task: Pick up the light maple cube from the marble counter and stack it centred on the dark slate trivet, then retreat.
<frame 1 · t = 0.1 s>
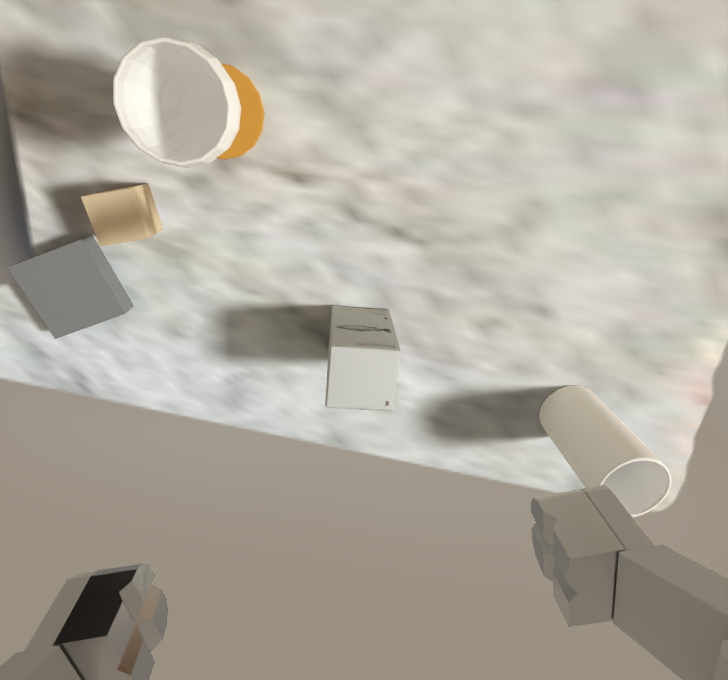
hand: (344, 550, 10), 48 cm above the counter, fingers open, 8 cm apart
cup: (567, 410, 67), on the counter
slate trivet: (80, 283, 56), on the counter
maple cube: (133, 210, 53), on the counter
cup 2: (220, 112, 49), on the counter
supplement box: (357, 332, 60), on the counter
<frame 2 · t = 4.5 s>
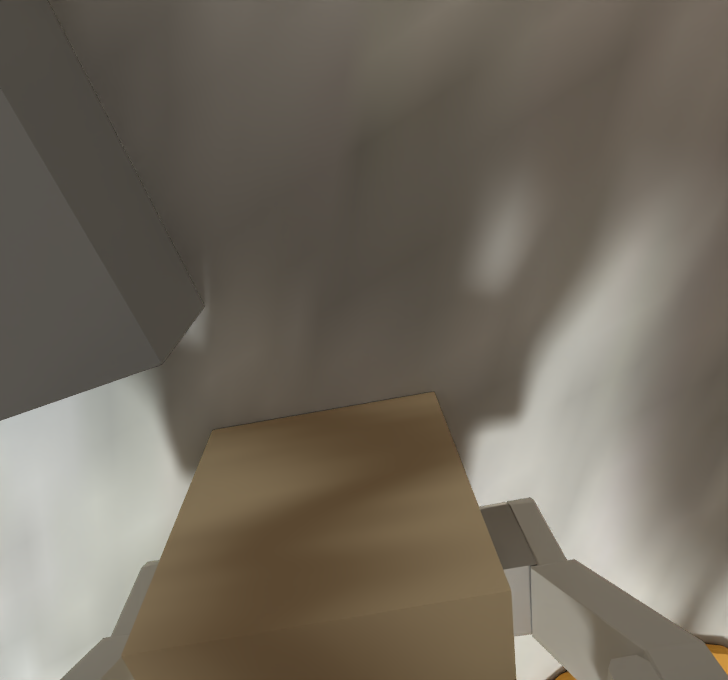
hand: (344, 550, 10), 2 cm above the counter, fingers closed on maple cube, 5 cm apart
maple cube: (343, 497, 12), on the counter, touching gripper
when the fingers open (6 cm above the counter, at t = 9.7 s): maple cube drops 1 cm, resting on slate trivet.
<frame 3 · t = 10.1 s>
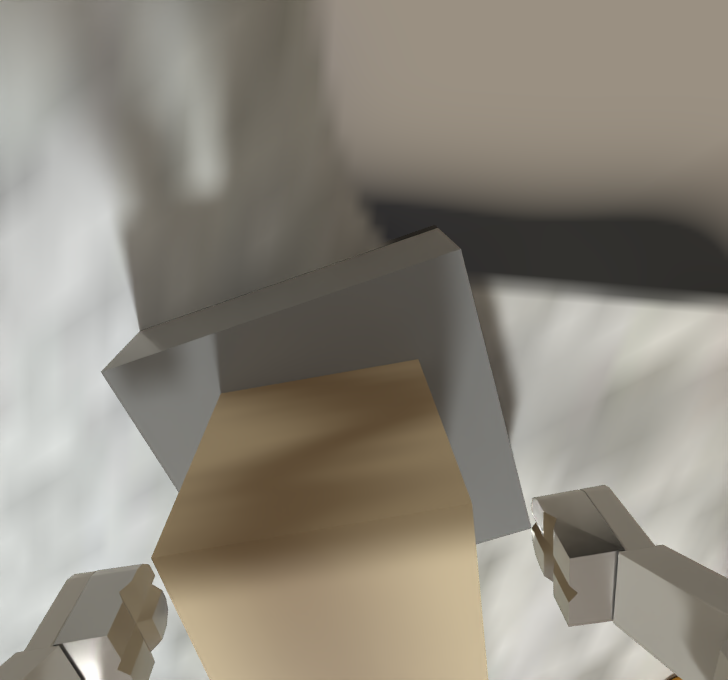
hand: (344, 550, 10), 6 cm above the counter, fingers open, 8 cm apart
slate trivet: (339, 401, 16), on the counter, touching maple cube
maple cube: (337, 456, 13), point 2 cm above the counter, touching slate trivet
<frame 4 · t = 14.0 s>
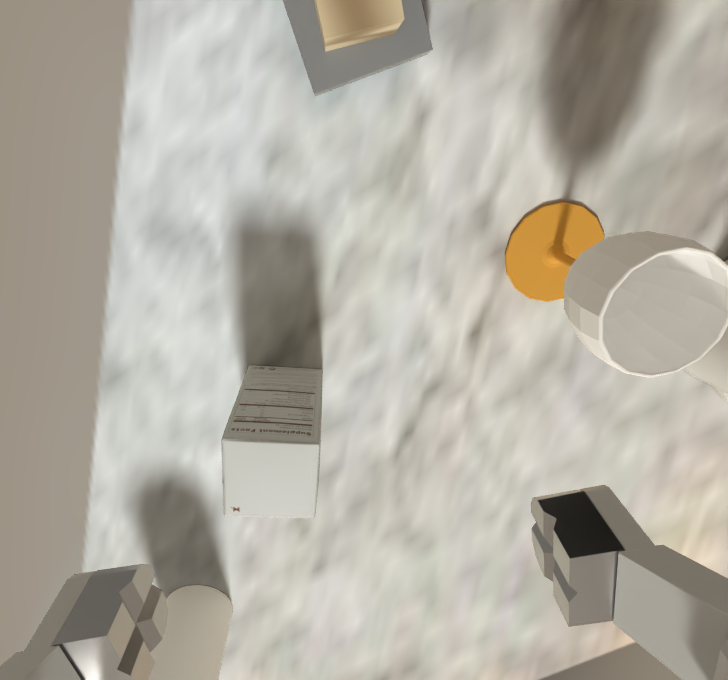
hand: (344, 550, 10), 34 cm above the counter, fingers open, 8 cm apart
cup: (199, 607, 59), on the counter
slate trivet: (351, 10, 35), on the counter, touching maple cube
maple cube: (351, 1, 33), point 2 cm above the counter, touching slate trivet
cup 2: (553, 252, 43), on the counter
supplement box: (285, 396, 48), on the counter
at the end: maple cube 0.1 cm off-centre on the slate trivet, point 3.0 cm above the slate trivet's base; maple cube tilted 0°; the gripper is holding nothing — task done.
